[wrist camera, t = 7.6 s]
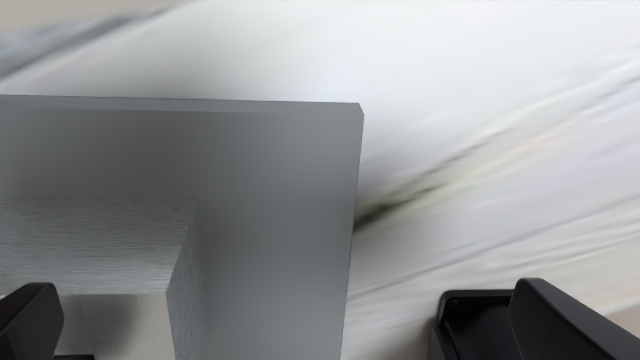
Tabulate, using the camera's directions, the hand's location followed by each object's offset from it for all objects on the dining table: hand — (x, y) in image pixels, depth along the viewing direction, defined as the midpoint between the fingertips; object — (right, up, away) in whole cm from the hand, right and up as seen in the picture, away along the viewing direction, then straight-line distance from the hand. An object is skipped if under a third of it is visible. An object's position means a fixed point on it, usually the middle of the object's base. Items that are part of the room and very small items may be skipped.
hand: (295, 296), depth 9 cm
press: (-9, -2, +12) cm, 15 cm away
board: (-9, -1, +14) cm, 16 cm away
